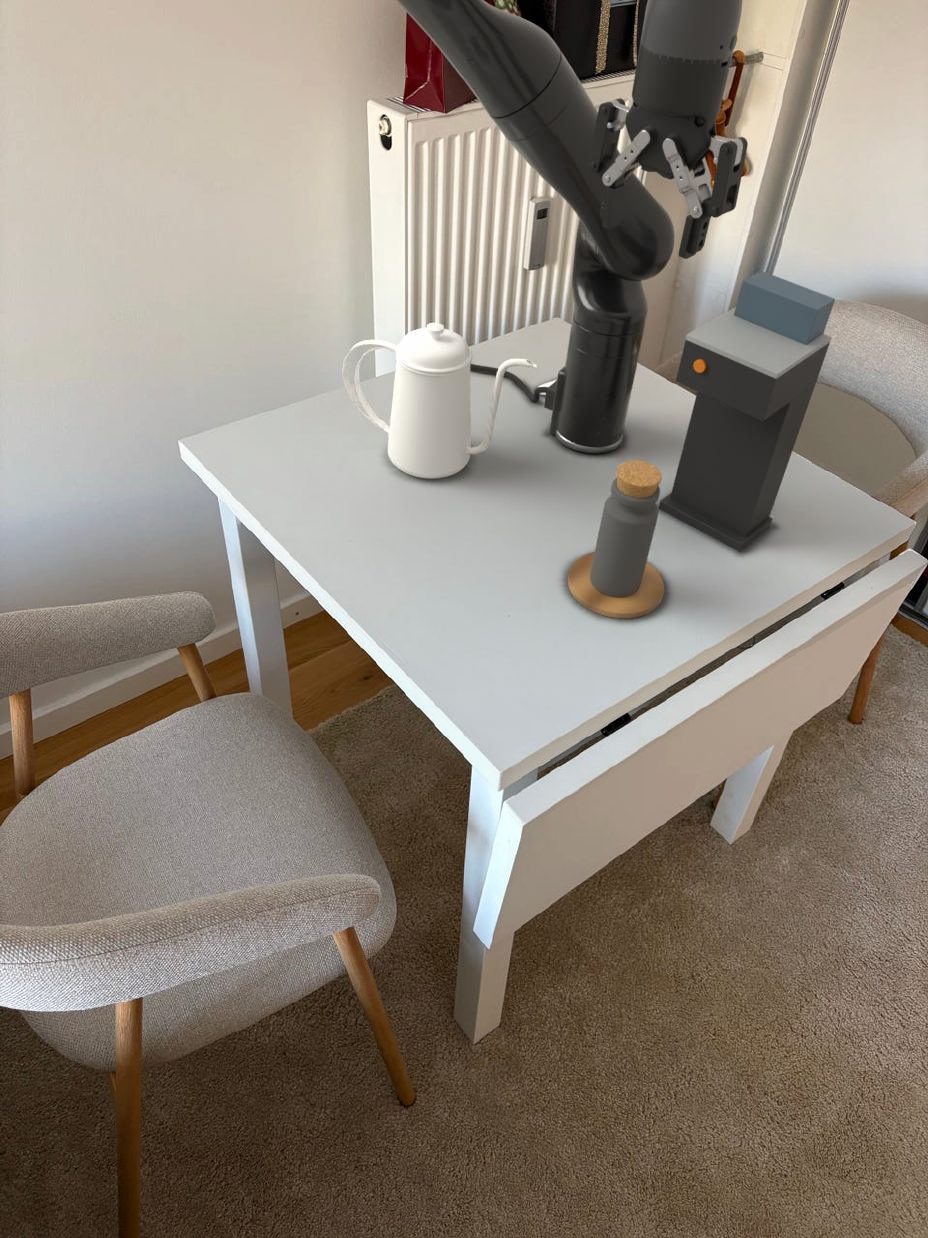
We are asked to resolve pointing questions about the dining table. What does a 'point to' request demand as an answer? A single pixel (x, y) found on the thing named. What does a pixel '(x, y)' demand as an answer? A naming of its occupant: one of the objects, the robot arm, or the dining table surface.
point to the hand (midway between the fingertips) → (648, 240)
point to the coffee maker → (747, 406)
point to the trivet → (615, 606)
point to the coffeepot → (430, 401)
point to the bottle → (626, 529)
